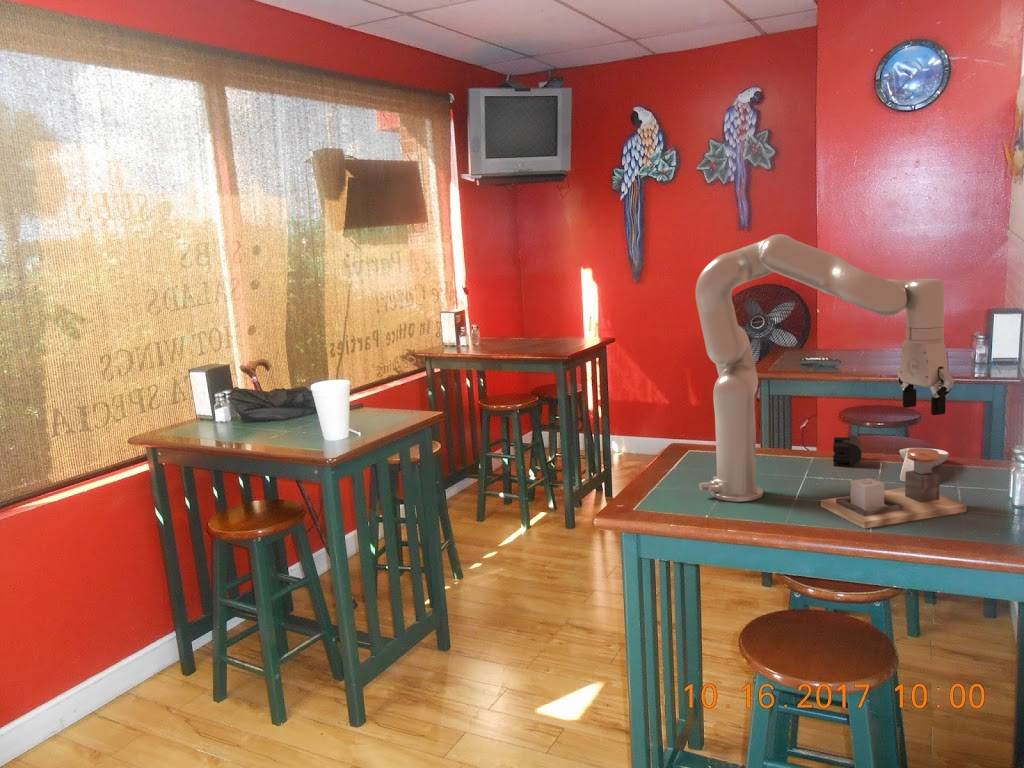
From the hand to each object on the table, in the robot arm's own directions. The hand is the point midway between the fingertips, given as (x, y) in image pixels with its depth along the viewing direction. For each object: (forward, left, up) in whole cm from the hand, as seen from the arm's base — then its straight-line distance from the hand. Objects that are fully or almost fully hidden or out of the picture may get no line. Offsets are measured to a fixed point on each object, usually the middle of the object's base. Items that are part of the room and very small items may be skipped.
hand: (923, 410), depth 184 cm
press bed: (-9, 0, -22) cm, 24 cm away
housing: (-14, +1, -21) cm, 25 cm away
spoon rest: (+17, +22, -23) cm, 36 cm away
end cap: (+6, +36, -23) cm, 43 cm away
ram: (0, 0, -17) cm, 17 cm away
